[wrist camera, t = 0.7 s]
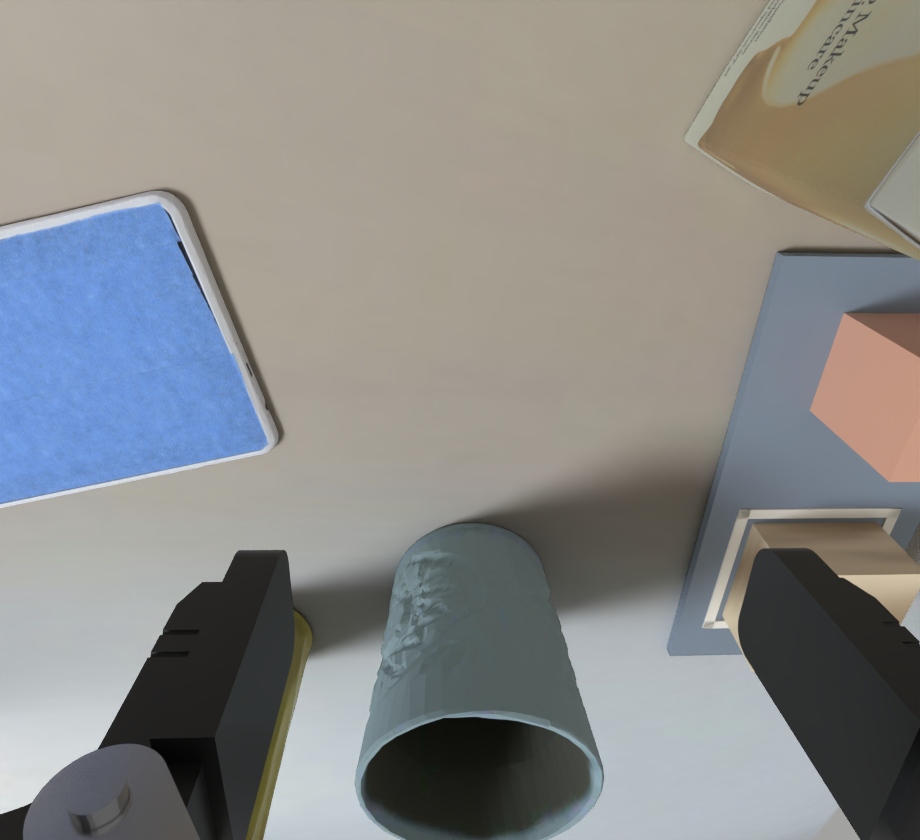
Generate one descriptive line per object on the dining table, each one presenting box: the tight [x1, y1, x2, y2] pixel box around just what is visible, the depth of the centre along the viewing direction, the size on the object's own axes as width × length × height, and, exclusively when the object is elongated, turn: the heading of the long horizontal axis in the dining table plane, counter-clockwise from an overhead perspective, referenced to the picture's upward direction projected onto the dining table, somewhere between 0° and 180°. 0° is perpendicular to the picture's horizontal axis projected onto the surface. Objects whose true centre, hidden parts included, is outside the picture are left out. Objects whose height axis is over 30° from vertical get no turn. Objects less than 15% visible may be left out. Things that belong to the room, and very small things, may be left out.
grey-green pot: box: [355, 523, 604, 840], centre depth 30 cm, size 10×10×12 cm
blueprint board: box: [667, 252, 920, 656], centre depth 33 cm, size 25×12×1 cm, turn 179°
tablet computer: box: [0, 191, 278, 508], centre depth 28 cm, size 19×13×1 cm, turn 102°
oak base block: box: [722, 522, 920, 672], centre depth 34 cm, size 7×7×4 cm
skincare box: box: [684, 0, 920, 261], centre depth 19 cm, size 6×4×12 cm
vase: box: [245, 609, 313, 840], centre depth 31 cm, size 6×6×14 cm
